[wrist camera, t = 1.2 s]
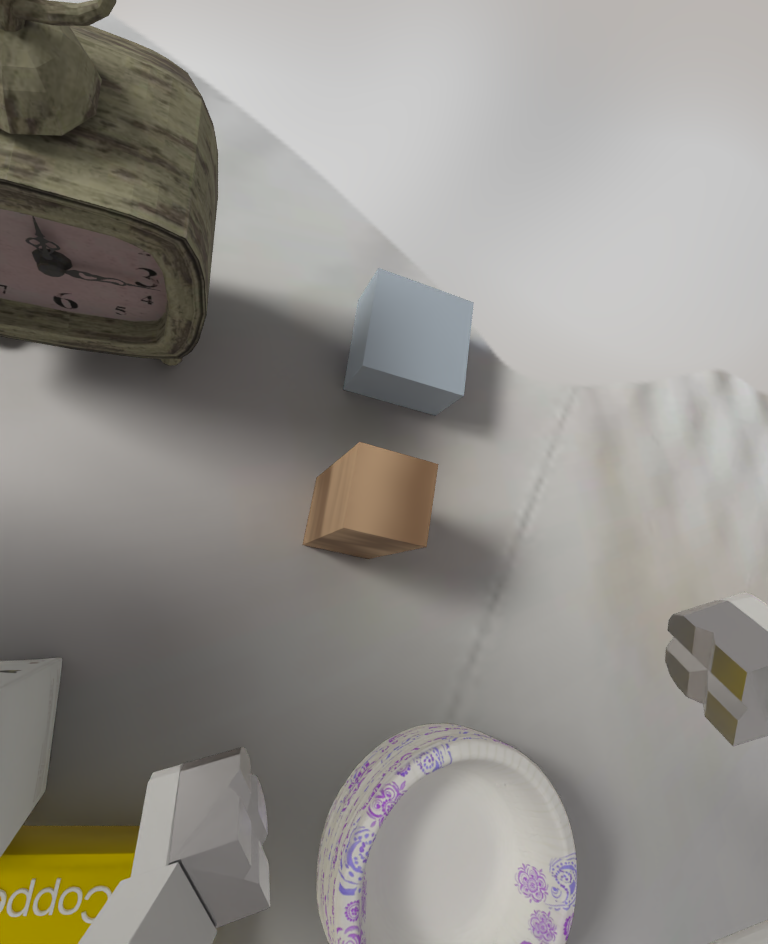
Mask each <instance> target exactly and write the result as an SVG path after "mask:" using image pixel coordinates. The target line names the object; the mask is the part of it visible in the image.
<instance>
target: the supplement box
mask: <svg viewBox="0 0 768 944" xmlns="http://www.w3.org/2000/svg"><path fill="white" fill-rule="evenodd" d="M61 669H62V658H47V659H33V660H13V661H0V857H1V856H2V854H3V853H4V851H5V850H6V848H7V847H8V845H9V844H10V843H11V841H12V840H13V838H14V836H15V835H16V834H17V832H18V831H19V829H20V828H21V826H22V825H23V823H24V822H25V820H26V819H27V817H28V816H29V814H30V813H31V812H32V810H33V808H34V807H35V805H36V804H37V803H38V801H39V800H40V798H41V797H42V795H43V794H44V792H45V791H46V784H47V776H48V769H49V761H50V753H51V745H52V738H53V730H54V723H55V715H56V708H57V700H58V693H59V685H60V678H61Z"/></svg>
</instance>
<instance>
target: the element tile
mask: <svg viewBox="0 0 768 944" xmlns="http://www.w3.org/2000/svg"><path fill="white" fill-rule="evenodd" d="M139 828H140V826H21V828H20V829H19V831H18V832H17V834H16V835H15V836H14V838H13V840H12V841H11V843H10V844H9V845H8V847H7V848H6V850H5V851H4V853H3V854H2V856H1V857H0V944H78V943H79V941H80V940H81V938H82V937H83V935H84V934H85V932H86V931H87V929H88V928H89V927H90V925H91V924H92V922H93V921H94V919H95V918H96V916H97V915H98V913H99V912H100V910H101V909H102V908H103V906H104V905H105V903H106V902H107V900H108V899H109V897H110V896H111V894H112V893H113V891H114V890H115V889H116V887H117V886H118V884H119V883H120V881H122V880H124V879H127V878H130V877H131V872H132V867H133V861H134V856H135V850H136V845H137V839H138V834H139Z"/></svg>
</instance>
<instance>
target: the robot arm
mask: <svg viewBox="0 0 768 944" xmlns="http://www.w3.org/2000/svg"><path fill="white" fill-rule="evenodd" d="M668 631H669V632H670V633H671V634H672V635H673V636H674V637H673V639H672V640H671V641H670V643H669V644H668V646H667V647H666V656H665V662H666V665H667V668H668V671H669V674H670V676H671V678H672V679H673V681H674V682H675V684H676V685H677V687H678V688H679V689H680V690H681V691H682V692H683V693H684V695H685V696H686V697H688V698H690V699H692V700H695V701H697V702H699V703H702V704H703V707H704V715H705V717H706V718H707V719H708V720H709V721H710V722H711V724H712V725H713V726H714V727H715V728H716V729H717V730H718V731H719V732H720V733H721V734H722V735H723V736H724V737H725V738H726V739H727V741H728V742H729V743H730V744H731V745H732V746H736V745H739V744H743V743H746V742H749V741H752V740H755V739H759V738H762V737H765V736H768V605H767V604H765V603H764V602H763V601H761V600H760V599H759V598H757V597H756V596H754V595H752V594H749V593H746V592H743V593H740V594H736V595H733V596H730V597H727V598H723V599H721V600H716V601H713V602H709V603H706V604H703V605H700V606H697V607H694V608H691V609H688V610H685V611H681V612H678V613H675V614H673V615H672V616H671V618H670V619H669V622H668ZM267 836H268V826H267V813H266V806H265V799H264V795H263V791H262V787H261V784H260V782H259V779H258V777H257V776H255V775H253V774H251V759H250V757H249V755H248V753H247V751H246V748H245V747H240V748H237V749H233V750H230V751H226V752H222V753H219V754H215V755H212V756H208V757H204V758H201V759H197V760H194V761H190V762H186V763H184V764H180V765H177V766H173V767H170V768H166V769H163V770H160V771H156V772H153V774H152V776H151V778H150V780H149V782H148V784H147V790H146V795H145V801H144V806H143V812H142V817H141V823H140V828H139V834H138V839H137V845H136V850H135V856H134V861H133V867H132V872H131V877H130V878H127V879H124V880H122V881H120V883H119V884H118V886H117V887H116V889H115V890H114V891H113V893H112V894H111V896H110V897H109V899H108V900H107V902H106V903H105V905H104V906H103V908H102V909H101V910H100V912H99V913H98V915H97V916H96V918H95V919H94V921H93V922H92V924H91V925H90V927H89V928H88V929H87V931H86V932H85V934H84V935H83V937H82V938H81V940H80V941H79V943H78V944H212V943H213V941H214V938H215V936H216V934H217V930H216V928H218V927H221V926H223V925H226V924H228V923H231V922H234V921H236V920H239V919H242V918H244V917H247V916H249V915H252V914H255V913H257V912H260V911H263V910H265V909H268V908H270V884H269V862H268V860H267V857H266V855H265V853H264V850H263V848H262V846H263V844H264V842H265V840H266V838H267ZM709 944H768V920H766V921H764V922H761V923H759V924H756V925H754V926H751V927H749V928H746V929H744V930H741V931H739V932H736V933H734V934H731V935H729V936H726V937H724V938H721V939H719V940H716V941H714V942H711V943H709Z"/></svg>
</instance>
